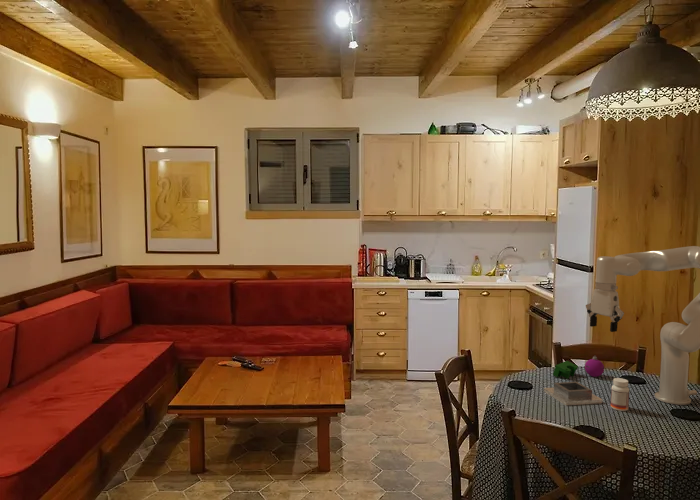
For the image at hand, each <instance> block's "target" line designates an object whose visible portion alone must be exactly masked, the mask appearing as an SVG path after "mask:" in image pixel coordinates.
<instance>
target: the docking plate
mask: <svg viewBox="0 0 700 500" xmlns="http://www.w3.org/2000/svg"><path fill="white" fill-rule="evenodd" d="M543 393H546V394H547V395H549V396H550V397H551V398H553V399H555V400H556V401H558V402H560V403H561V404H562V405H564V406H565V407H566V406H578V405H579V406H581V405H595V404H597V405H598V404H603V399H602V398H601V397H599V396H597V395H595V394H594V393H593V389H592V388H590V387H587V386H585V385H584V384H582V383H580V382H578V381H564V382H563V381H562V382H554V383H553V387H544V388H543Z"/></svg>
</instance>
